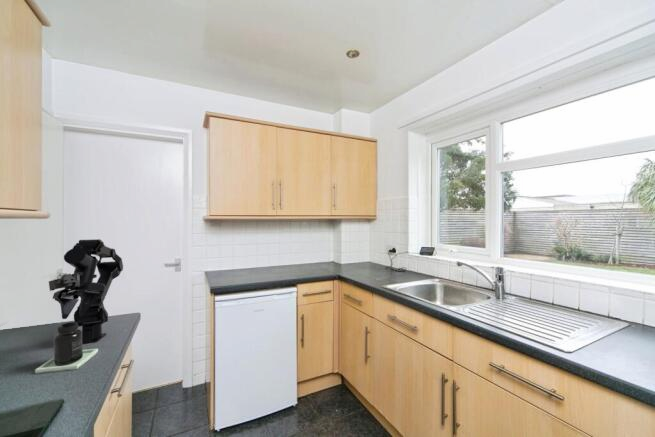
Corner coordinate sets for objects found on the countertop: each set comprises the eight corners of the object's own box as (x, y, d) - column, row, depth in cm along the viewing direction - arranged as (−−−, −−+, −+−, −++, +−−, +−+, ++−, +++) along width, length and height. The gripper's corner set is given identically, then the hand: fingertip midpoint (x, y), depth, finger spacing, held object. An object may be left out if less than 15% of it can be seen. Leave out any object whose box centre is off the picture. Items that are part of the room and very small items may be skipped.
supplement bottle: (80, 353, 93) (80, 318, 93) (84, 360, 89) (84, 323, 89) (52, 361, 88) (51, 325, 88) (55, 369, 84) (54, 330, 83)
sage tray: (61, 355, 93) (61, 351, 92) (98, 351, 95) (98, 348, 95) (35, 373, 82) (35, 369, 82) (77, 369, 84) (77, 365, 84)
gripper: (41, 273, 95) (25, 320, 88) (74, 262, 89) (60, 311, 82) (78, 278, 104) (66, 321, 98) (110, 268, 99) (100, 313, 92)
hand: (72, 317), depth 92 cm, fingers open, 9 cm apart
